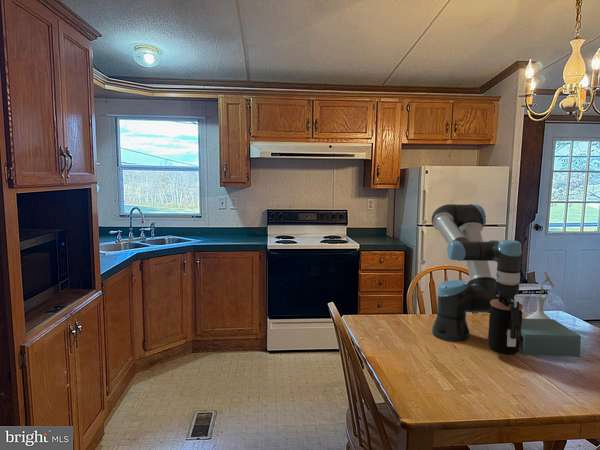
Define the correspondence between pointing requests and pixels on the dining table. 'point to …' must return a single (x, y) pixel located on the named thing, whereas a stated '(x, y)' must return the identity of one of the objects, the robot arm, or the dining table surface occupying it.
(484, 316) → the dining table surface
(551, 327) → the green riser stand
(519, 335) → the coffee jar
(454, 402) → the dining table surface
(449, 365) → the dining table surface
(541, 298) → the flower in vase
